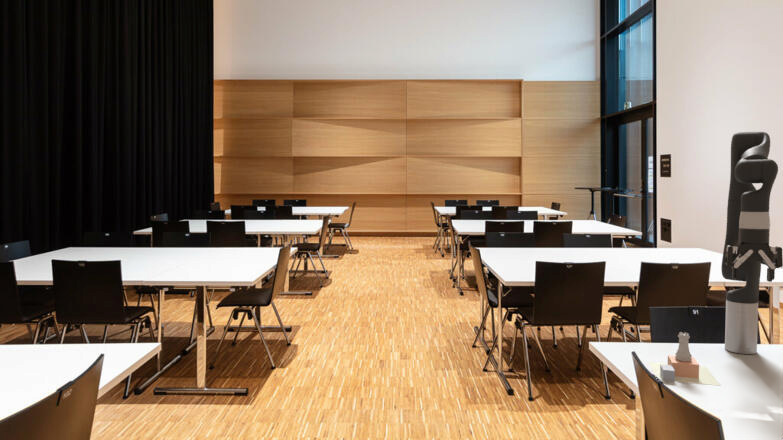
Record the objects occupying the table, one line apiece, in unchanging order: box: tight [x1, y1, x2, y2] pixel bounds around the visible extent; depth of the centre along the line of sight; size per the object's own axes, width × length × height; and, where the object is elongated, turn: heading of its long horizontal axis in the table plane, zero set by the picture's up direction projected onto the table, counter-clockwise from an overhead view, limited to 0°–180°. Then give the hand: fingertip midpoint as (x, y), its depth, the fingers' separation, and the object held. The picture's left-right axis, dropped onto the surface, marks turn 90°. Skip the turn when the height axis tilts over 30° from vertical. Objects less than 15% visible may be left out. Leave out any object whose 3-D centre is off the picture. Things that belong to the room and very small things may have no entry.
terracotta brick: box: [667, 354, 700, 378], centre depth 158 cm, size 7×7×4 cm
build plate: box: [648, 362, 722, 387], centre depth 158 cm, size 16×16×1 cm
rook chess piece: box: [674, 331, 693, 362], centre depth 157 cm, size 4×4×8 cm
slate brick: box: [660, 364, 675, 382], centre depth 154 cm, size 5×3×3 cm, turn 162°
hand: (752, 280), depth 159 cm, fingers open, 8 cm apart
